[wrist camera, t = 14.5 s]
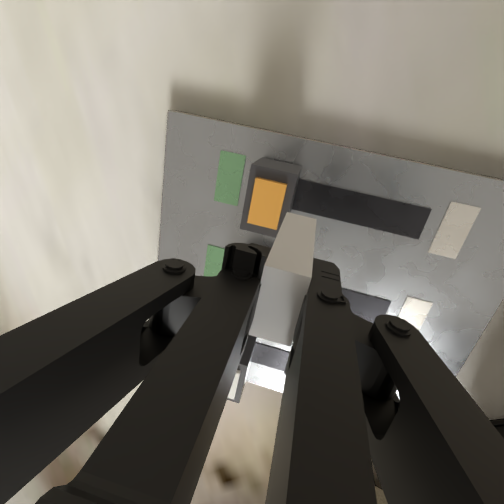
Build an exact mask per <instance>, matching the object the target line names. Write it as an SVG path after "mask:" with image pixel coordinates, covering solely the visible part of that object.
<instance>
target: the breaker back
mask: <svg viewBox="0 0 504 504" xmlns="http://www.w3.org/2000/svg"><path fill="white" fill-rule="evenodd" d="M256 339H257V337H255V336H252V335H249V334H248V338H247V343H246V346H245V349H244V352H243V355H242V357H241V360H240V363H239V366H238V369H237V372H236V374H235V377H234V380H233V383H232V386H231V389H230V392H229V394H228V397H227V400H230V401H233V402H236V403H239V402H240V399H241V395H242V392H243V388H244V385H245V382H246V378H247V375H248V372H249V368H250V364H251V359H252V355H253V351H254V347H255V343H256Z"/></svg>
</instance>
